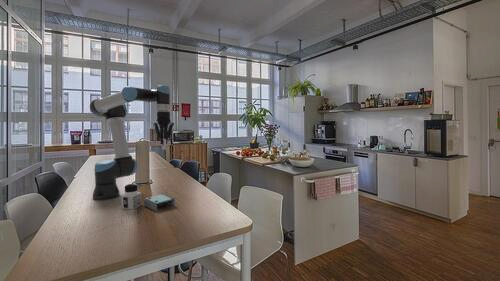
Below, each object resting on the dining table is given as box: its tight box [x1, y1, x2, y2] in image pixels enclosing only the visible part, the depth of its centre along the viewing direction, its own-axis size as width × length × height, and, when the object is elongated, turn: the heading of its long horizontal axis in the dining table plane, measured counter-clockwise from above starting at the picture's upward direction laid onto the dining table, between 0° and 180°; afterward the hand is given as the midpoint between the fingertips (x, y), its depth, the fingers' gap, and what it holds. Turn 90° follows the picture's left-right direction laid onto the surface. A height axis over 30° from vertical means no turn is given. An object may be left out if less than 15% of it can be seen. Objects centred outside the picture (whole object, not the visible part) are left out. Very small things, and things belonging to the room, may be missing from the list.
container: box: [120, 183, 143, 210], centre depth 139 cm, size 8×8×13 cm
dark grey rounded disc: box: [156, 202, 165, 208], centre depth 142 cm, size 7×7×3 cm
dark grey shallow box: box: [143, 193, 176, 212], centre depth 141 cm, size 14×12×5 cm
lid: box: [145, 193, 174, 204], centre depth 141 cm, size 12×11×1 cm
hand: (164, 149), depth 151 cm, fingers closed
